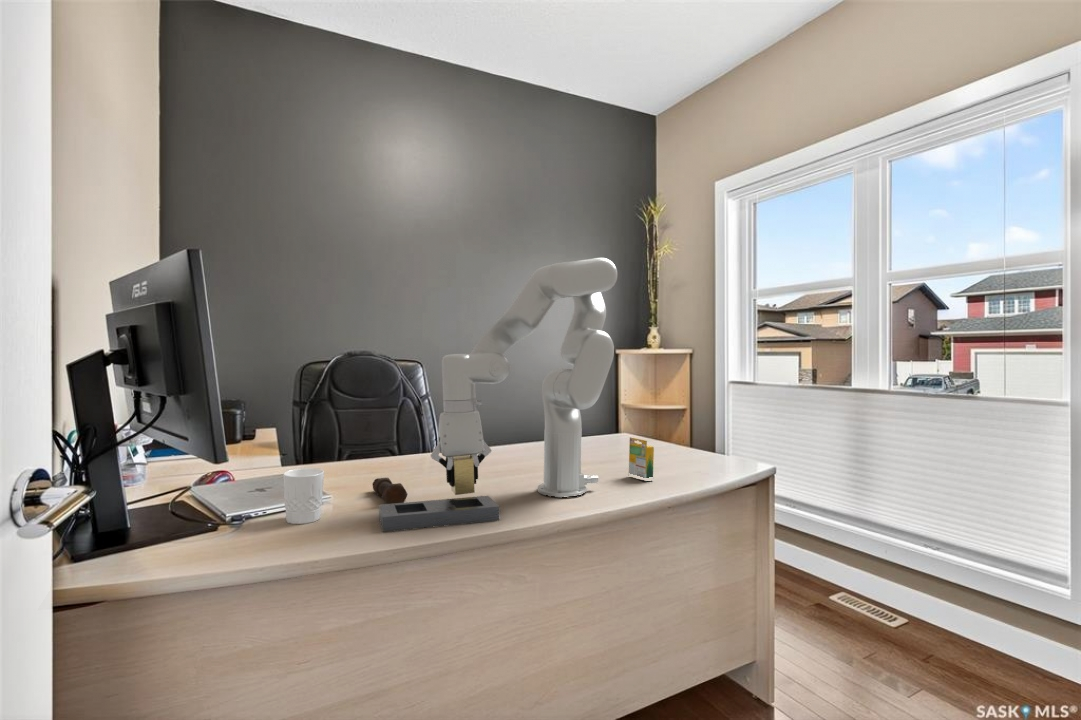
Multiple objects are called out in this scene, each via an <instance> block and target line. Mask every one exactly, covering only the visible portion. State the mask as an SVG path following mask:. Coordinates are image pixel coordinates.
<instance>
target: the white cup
mask: <svg viewBox="0 0 1081 720" xmlns="http://www.w3.org/2000/svg"><path fill="white" fill-rule="evenodd" d="M324 475H325V470H324V469H321V468H313V467H312V468H311V467H308V468H307V467H305V468H295V469H291V470H287V471H285V472H283V475H282V476H283V477H282V478H283V496H284V498H283V499H284V508H285V521H286V522H287V523H288V524H291V525H304V524H311V523H314V522H316V521H319V520H320V519H321V517H322V505H323V495H324V479H325V476H324Z"/></svg>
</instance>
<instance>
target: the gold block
mask: <svg viewBox="0 0 1081 720" xmlns="http://www.w3.org/2000/svg"><path fill="white" fill-rule="evenodd" d="M452 467H453V470H454V487H451V486H450V488H451V491H452V492H453V494H454V495H455V496H458V495H467V494H474V493H475V490H476V489H475V484H474V463H473V458H472V457H471V456H470V455H464V456H455V457H454V459H453V464H452Z"/></svg>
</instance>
